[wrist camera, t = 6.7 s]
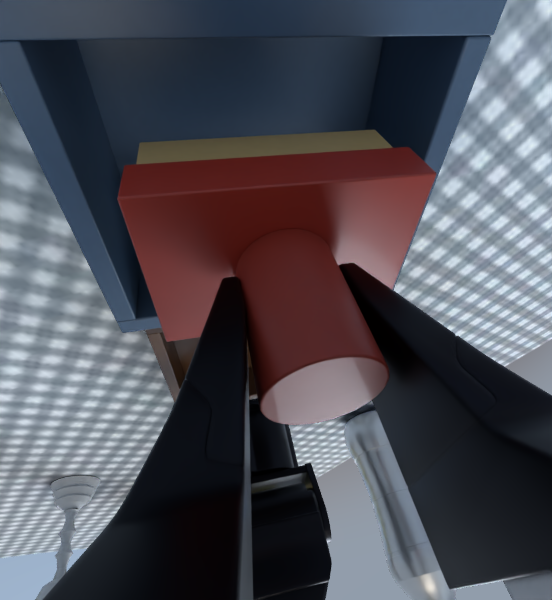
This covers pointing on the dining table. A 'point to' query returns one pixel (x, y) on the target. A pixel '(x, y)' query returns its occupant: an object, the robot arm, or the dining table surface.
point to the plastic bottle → (395, 511)
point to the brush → (279, 251)
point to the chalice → (69, 517)
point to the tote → (222, 91)
